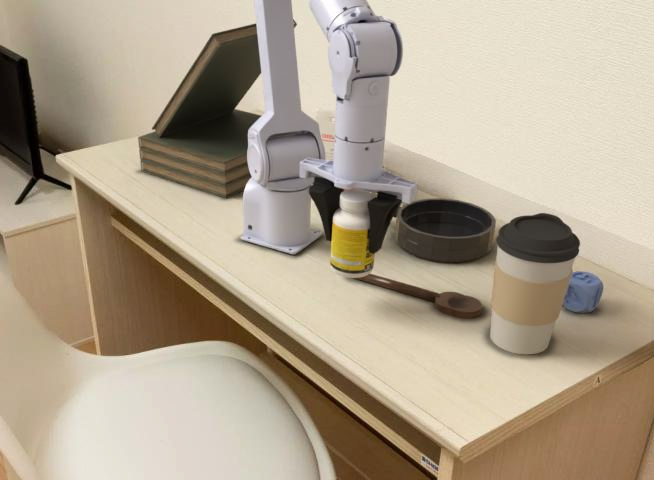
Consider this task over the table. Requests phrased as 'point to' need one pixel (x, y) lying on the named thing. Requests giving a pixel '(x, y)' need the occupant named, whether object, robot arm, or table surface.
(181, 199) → the table surface
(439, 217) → the frying pan
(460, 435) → the table surface
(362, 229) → the supplement bottle
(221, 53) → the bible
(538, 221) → the coffee cup
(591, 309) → the decorative dice
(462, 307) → the walnut spoon
